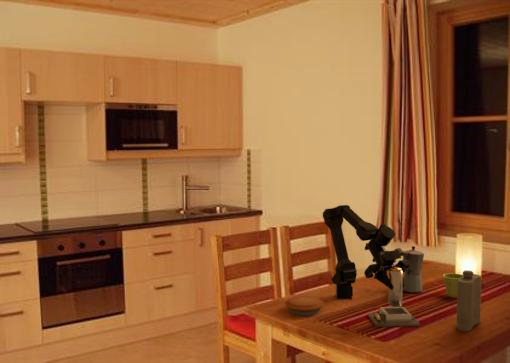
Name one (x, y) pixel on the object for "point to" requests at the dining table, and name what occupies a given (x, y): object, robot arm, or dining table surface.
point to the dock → (393, 317)
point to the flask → (468, 301)
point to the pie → (304, 305)
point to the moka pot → (413, 270)
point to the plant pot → (451, 284)
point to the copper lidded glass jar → (395, 286)
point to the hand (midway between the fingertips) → (398, 288)
